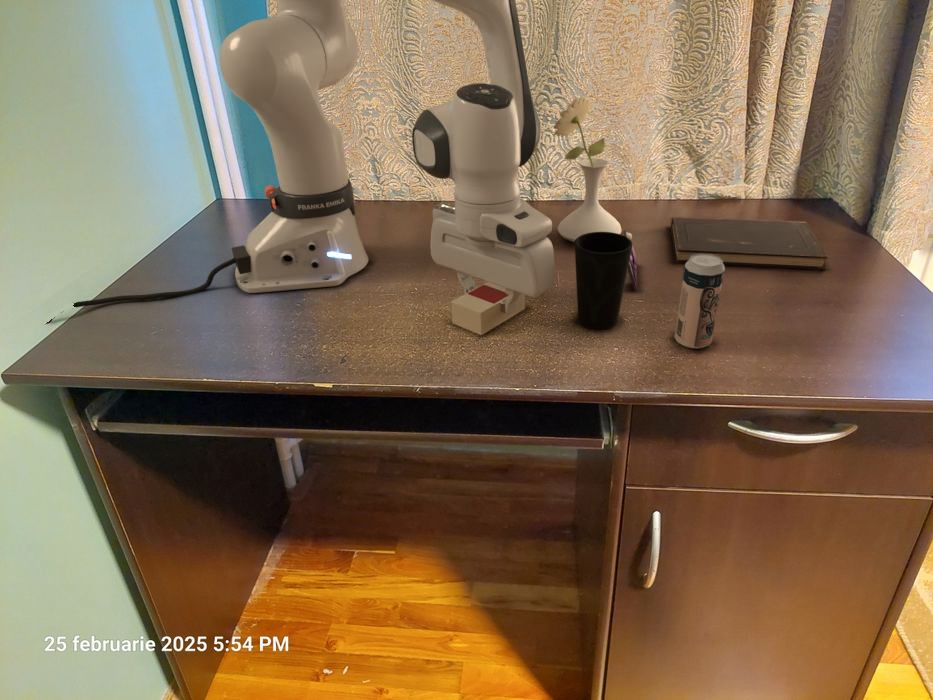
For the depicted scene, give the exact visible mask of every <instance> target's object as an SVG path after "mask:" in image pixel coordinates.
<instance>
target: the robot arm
mask: <svg viewBox="0 0 933 700" xmlns="http://www.w3.org/2000/svg"><path fill="white" fill-rule="evenodd" d="M431 1H432V2H434V3H437V4H439V5H442V6H445V7H448V8H451V9H452V10H455V11H458V12H460V13H461V14H463V15H465V16H466V17H468V18H469V19H470V20H471V21H472V22H473V23H474V24H475V25H476V27H477V29H478V30H479V33H480V35H481V39H482V44H483V49H484V55H485V60H486V66H487V70H488V75H489V81H490V83H486V82H485V83H483V82H478V83H477V82H476V83H470V84H466V85H463V86H461V87H460V88H458V89H456V90H455V92H453V95H452V99H450V100H448V101H446V102H444V103H441V104H438V105H434V106H432V107H429V108H427V109H424V110H423V111H422V112H421V113H420V114H419V115H418V117H417V119H416V121H415V122H414V125H413V128H412V131H411V139H412V140H411V141H412V142H411V143H412V150H413V156H414V160H415V162H416V164H417V165H418V166H419V167H420V168H421V169H422V170H423V171H425V173H427V174H428V175H430V176H432V177H433V178H436V179H442V180H446V179H449V180H452V181H453V182H454V192H453V199H454V200H453V201H454V202H453V203H454V204H449V203H448V202H443V201H441V202H440V203H438V204H436V205H435V206H434V208H433V209H432V224H431V229H430V230H431V231H430V257H431V258H432V261H433V262H434V263H435V264H436V265H438V266H442V267H445V268H447V269H450V270H453V271H456V277H457V280H458V281H459V283H460V284H461V287H462V289H463V295H464V294H466V293H468V292H470V291H472V290H474V289H475V288H477V287H479V286H477V285H476V284H475V281H474V279H473V278H476V279H479V280H482V281H485V282H486V283H487V282H490V283H493V284H496V285H498V286H501V287H504V288H506V294H509V296H508V298H507V299H505V300H503V301H501V302H500V307H501V308H500V310H501V312H503V313H505V314H508V315H510V314H512V313H514V312H515V310H516V300H517V299H518V297H519V296H520V294H524V295H525V296H527V297H530V298H533V299H536V298H539V297H541V296H543V295H544V294H546V293H548V292H549V291H550V290H551V289H552V288H553V286H554V283H555V253H554V247H553V244H552V241H551V240H550V239H549V237H547V236H548V235H550V234H551V233H552V230H553V222H552V220H551V218H549V217H548V216H547V215H545V214H544V213H542V212H540V211H539V210H538V209H536V208H535V207H533V206H532V205H530V204H529V203H528V202H527V201H526V200H524V199H523V198H521V194H522V193H521V186H520V183H519V178H518V174H519V168H521V167H523V166H524V165H526V164H527V163H528V162H529V161H530V159H531V158H532V156H533V155H534V153H535V151H536V150H537V147H538V145H539V142H540V140H541V123H540V119H539V114H538V112H537V108H536V106H535V102H534V100H533V96H532V92H531V87H530V81H529V74H528V69H527V61H526V55H525V49H524V43H523V36H522V31H521V26H520V20H519V14H518V7H517V4H516V0H431ZM344 4H345V3H344V0H276V5H277V11H276V16H273V17H268V18H263V19H256V20H252V21H250V22H247V23H246V24H244V25H242V26H241V27H239V28H237V29H236V30H234V31H233V32H231V33H230V34H228V35H227V36H226V37H225V38H224V39H223V41H222V44H221V47H220V50H219V57H218V58H219V59H218V60H219V67H220V71H221V75H222V77H223V79H224V82H225V83H226V86H227V87H228V89H229V90H230V91H231V93H233V94H234V95H235V97H237V98H238V99H239V100H241V101H242V102H244V103H245V104H246V105H248V106H249V107H250V108H251V109H252V110H253V112H254V113H255V114H256V116H257V118H258V119H259V121H260V123H261V126H263V129H264V131H265V133H266V135H267V138H268V141H269V143H270V147H271V151H272V155H273V160H274V165H275V170H276V175H277V180H278V185H279V186H278V187H275V186H274V185H267V186H266V187H265V189H264V195H265V198H266V199H267V200H269V201H268V202H269V207H270V210H271V212H270V213H269V214H268V215H266V217H265V218H264V219H262V221H261V222H260V223H258V224H257V225H256V226H255V227H254V228H253V229H252V230H251V231H250V232H249V233H248V236H247V238H246V241H245V245H238V246H233V247H231V252H232V256H233V258H230V259H229V260H226V261H224V262H223V263H221V264H219V265H217V266H215V267H214V268H213V269H212V270H211V271H210V272H209V274H208V275H207V279H206V281H205V283H203V284H202V285H200V286H197V287H195V288H192V289H188V290H179V291H178V290H177V291H166V292H165V291H164V292H156V293H155V292H154V293H147V294H132V295H131V294H128V295H127V294H126V295H116V296H109V297H104V298H98V299H89V300H80V301H75V302H76V303H74V302H73V303H74V305H73V306H74V307H76V308H81V307H82V308H83V307H89V306H98V305H103V304H110V303H115V302H125V301H126V302H127V301H144V300H145V301H146V300H154V299H163V298H176V297H177V298H178V297H183V296H189V295H193V294H197V293H200V292H203V291H205V290H206V289H208V288H209V287H211V285H212V283H213V281H214V278H215V276H216V275H217V274H218V273H219V272H221V271H223V270H224V269H226V268H228V267H230V266H232V265H234V264H235V266H236V267H235V269H234V270H235V271H234V275H235V282H236V284H237V287H238V288H239V289H240V290H241V291H243V292H245V293H248V294H257V293H258V294H259V293H270V292H282V291H292V290H293V291H295V290H305V289H316V288H317V289H318V288H327V287H336V286H339V285H341V284H343V283H344V282H345V281H346V280H347V279H348V278H349V277H351V276H353V275H355V274H357V273H358V272H361V270H363V269H364V268H366V266H367V264H368V263H369V255H368V254H367V252H366V249H365V247H364V244H363V242H362V239H361V235H360V233H359V229H358V225H357V221H356V217H355V216H356V202H355V201H356V200H355V194H354V187H353V184H352V182H351V180H350V178H349V174H348V167H347V166H348V165H347V158H346V152H345V146H344V137H343V135H342V132H341V131H340V129H339V128H338V127H337V126H336V125H335V124H333V123H331V122H330V121H329V120H328V118H327V116H326V114H325V113H324V110H323V107H322V105H321V102H320V99H319V92H318V91H321V90H325V89H327V88H330V87H333V86H335V85H336V84H338V83H339V82H340V81H341V80H343V79H344V78H345V77H346V76H347V75H349V74H350V72H351V71H353V69H354V68H355V66H356V64H357V61H358V56H359V45H358V39H357V36H356V34H355V31H354V29H353V28H352V26H351V25H350V24H349V22H348V20H347V16H346V10H345V6H344ZM62 313H63V312H61V313H60V314H62ZM55 318H56V317H54V318H53V319H51V320H50V321H49V322H47V323H46V324H45V325H49V324H51V322H52V321H53V320H54V319H55Z"/></svg>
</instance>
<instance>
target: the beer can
mask: <svg viewBox="0 0 933 700" xmlns="http://www.w3.org/2000/svg"><path fill="white" fill-rule="evenodd" d="M683 270H684V271H683V277H682V284H681V290H680V297H679V303H678V311H677V317H676V324H675V331H674V339H675V341H676V342H677V343H678V344H680V345H681V346H683V347H684V348H685V347H686V348H689V349H694V350H695V349H702V348H706V347H708V346H710V345H711V344H712V342H713V337H714V331H715V326H716V320H717V315H718V309H719V303H720V298H721V293H722V286H723V281H724V277H725V276H724V274H725V271H726V266H725V265H724V264H723V261H722V260H721V259H720V257H718V256H715V255H712V254H701V253H700V254H696V255H692V256H691V257H690V259H689V261H688V262H686V263H684V269H683Z"/></svg>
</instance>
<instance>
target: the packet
mask: <svg viewBox="0 0 933 700" xmlns="http://www.w3.org/2000/svg"><path fill="white" fill-rule="evenodd" d="M508 296H509V294H506V288H504V287H501V286H498V285H496V284H493V283H490V282H487V281H486V282H484V283H483V284H481V285H479V286H478V287H477V288H475V289H474V290H472V291H470V292H468V293H466V294H464V293H463V295H461V296H458V297H457V298H455V299H453V300H451V301H450V306H451V307H450V308H451V322H452V324H453V325H455V326H458V327H460V328H462V329H465V330H467V331H470V332H472V333H475V334H477V335H479V336H483V335H484V334H486V333H488V332H490V331H491V330H493V329H495V328H496V327H498V326H499V325H501V324H503V323H504V322H506V321H508V320H509V319H511V318H513V317H515V316H516V315H518V314H519V313H521V312H523V311H524V310H525V309H526V295H524V294H520V296H519V297H518V299H517V300H516V310H515V312H514V313H512V314H510V315H508V314H505V313H503V312H501V310H500V308H501V307H500V302H501V301H503V300H505V299H507V298H508Z"/></svg>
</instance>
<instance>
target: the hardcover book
mask: <svg viewBox="0 0 933 700" xmlns="http://www.w3.org/2000/svg"><path fill="white" fill-rule="evenodd" d="M670 231H671V232H670V233H671V239H672V240H671V241H672V247H673V254H674V255H673V256H674V262H675V263H680V264H681V263H682V264H686V262H688V261H689V259H690V257H691V256H692V255H696V254H700V253H701V254H712V255H715V256H718V257H720V259H721V260H722V261H723V264H724V266H739V267H740V266H741V267H760V268H761V267H763V268H783V269H801V270H802V269H805V270H825V266H824V264H825V260H826V259H828V255H827V254H826V252H825V250H824V249H823V247H822V245H821V244H820V242H819V240H818V239H817V237H816V236H815V233H814V232H813V230H812V229H811V227H810V226H809V224H808V222H807V221H800V220H799V221H798V220H774V219H773V220H770V219H744V218H743V219H742V218H719V217H718V218H715V217H714V218H713V217H690V216H689V217H688V216H671V222H670Z"/></svg>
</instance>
